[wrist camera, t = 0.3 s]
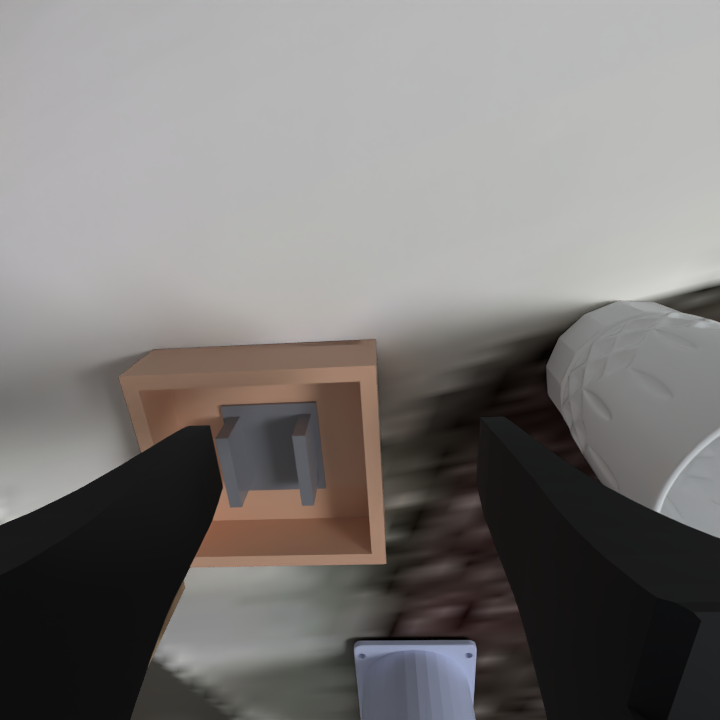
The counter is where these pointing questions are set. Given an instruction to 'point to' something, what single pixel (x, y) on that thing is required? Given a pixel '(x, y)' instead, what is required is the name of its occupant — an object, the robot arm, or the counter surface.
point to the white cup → (645, 405)
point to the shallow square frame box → (276, 446)
